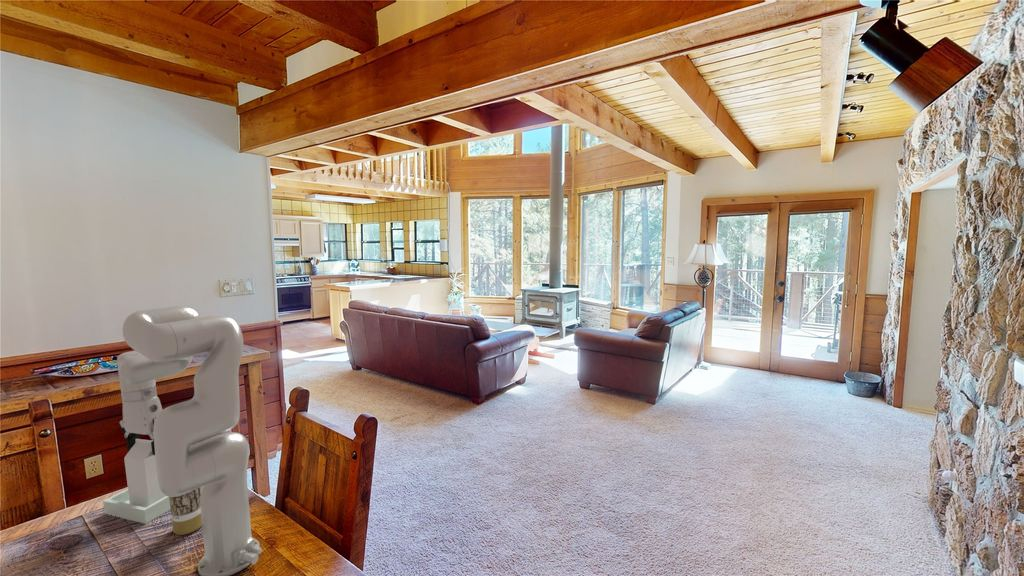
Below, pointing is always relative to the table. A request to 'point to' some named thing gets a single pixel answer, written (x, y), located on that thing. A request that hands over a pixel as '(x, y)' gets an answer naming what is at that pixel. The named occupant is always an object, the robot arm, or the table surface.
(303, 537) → the table surface
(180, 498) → the paper tube
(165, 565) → the table surface
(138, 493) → the milk carton
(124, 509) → the tray
